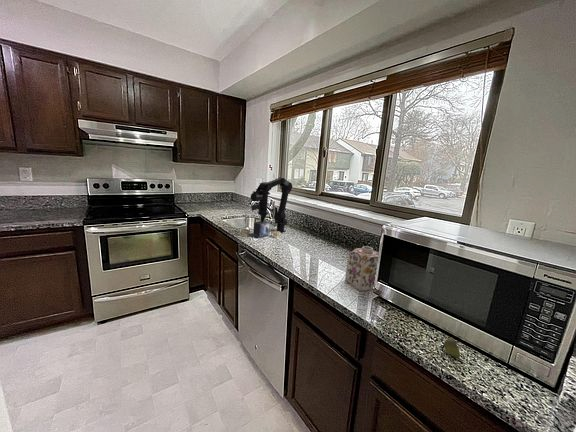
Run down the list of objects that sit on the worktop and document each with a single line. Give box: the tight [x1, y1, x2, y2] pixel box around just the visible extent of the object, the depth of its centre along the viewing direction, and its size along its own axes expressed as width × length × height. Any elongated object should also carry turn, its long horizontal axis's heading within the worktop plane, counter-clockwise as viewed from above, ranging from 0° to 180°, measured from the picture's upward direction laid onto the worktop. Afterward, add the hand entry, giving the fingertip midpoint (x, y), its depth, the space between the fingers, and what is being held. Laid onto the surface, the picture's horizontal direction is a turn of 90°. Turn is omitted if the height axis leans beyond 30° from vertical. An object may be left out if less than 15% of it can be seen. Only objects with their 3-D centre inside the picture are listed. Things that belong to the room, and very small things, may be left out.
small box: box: [252, 220, 271, 239], centre depth 177 cm, size 11×6×10 cm, turn 143°
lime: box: [443, 337, 461, 359], centre depth 72 cm, size 4×5×5 cm
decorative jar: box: [344, 245, 379, 292], centre depth 112 cm, size 12×12×18 cm
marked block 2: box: [272, 230, 281, 239], centre depth 178 cm, size 4×4×4 cm
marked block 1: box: [241, 228, 251, 237], centre depth 176 cm, size 4×4×4 cm
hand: (262, 222), depth 176 cm, fingers closed, pressing on small box
